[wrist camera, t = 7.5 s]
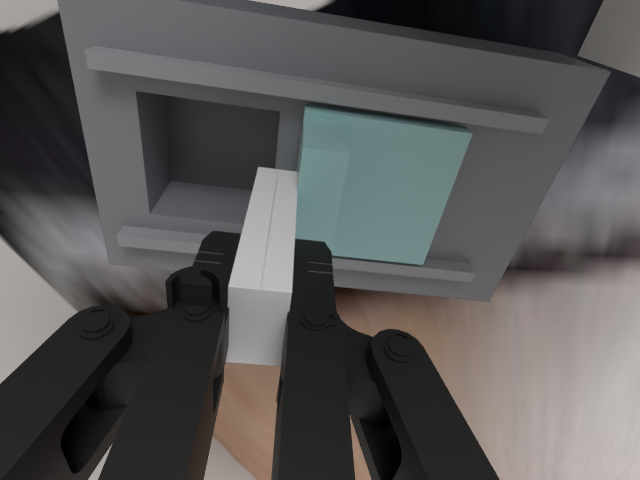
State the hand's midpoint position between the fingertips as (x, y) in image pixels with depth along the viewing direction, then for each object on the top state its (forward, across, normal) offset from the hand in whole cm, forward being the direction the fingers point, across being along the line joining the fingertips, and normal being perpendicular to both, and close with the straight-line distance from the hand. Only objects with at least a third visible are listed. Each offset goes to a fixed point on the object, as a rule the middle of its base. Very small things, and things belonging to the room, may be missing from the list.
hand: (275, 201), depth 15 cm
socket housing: (+6, +2, 0) cm, 7 cm away
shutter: (+2, +4, 0) cm, 5 cm away
